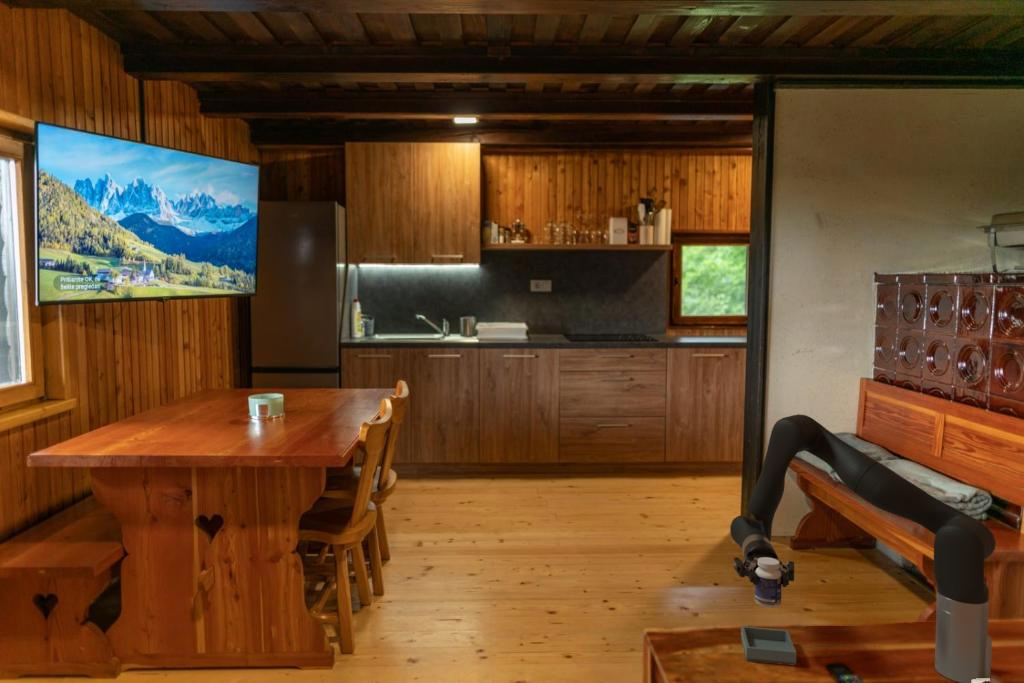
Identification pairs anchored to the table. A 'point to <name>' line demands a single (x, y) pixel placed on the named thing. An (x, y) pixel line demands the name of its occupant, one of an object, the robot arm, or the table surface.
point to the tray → (768, 645)
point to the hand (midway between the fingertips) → (770, 581)
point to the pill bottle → (768, 583)
